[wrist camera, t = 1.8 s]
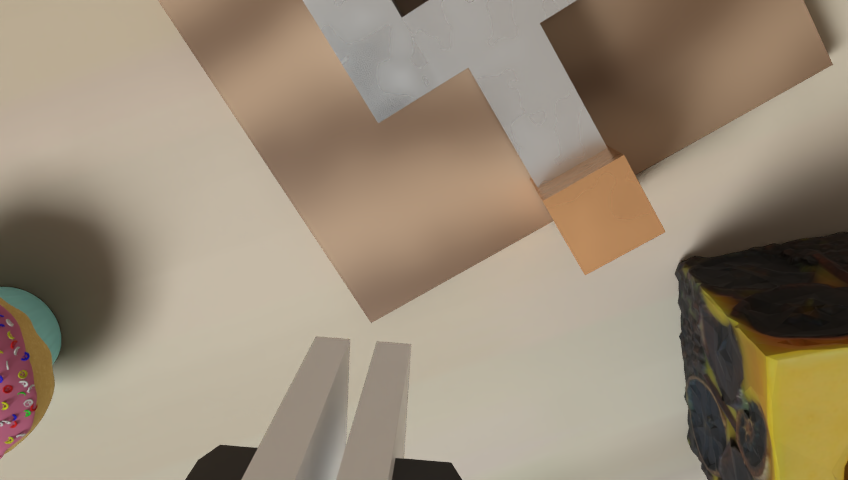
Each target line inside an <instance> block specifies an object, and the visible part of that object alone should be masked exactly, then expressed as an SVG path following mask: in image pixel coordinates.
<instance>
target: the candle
mask: <svg viewBox="0 0 848 480" xmlns="http://www.w3.org/2000/svg"><path fill="white" fill-rule="evenodd" d="M675 275H676V277H677V279H678V281H679V299H678V304H679V307H680V309H681V330H682V333H681V335H680V336H679V337H680V340H681V347H682V355H683V360H684V371H685V380H686V387H685V390H686V391H685V396H684V397H685V400H686V402H687V405H688V408H689V409H688V425H689V430H688V435H687V440H688V442H689V445H690V448H691V450H692V451H693V453H694V454H695V455H696V456H697V457H698V459H699V461H700V462H701V463H702V465H701V469H702V470H703V472H704V473H705V475H706V476H707V479H708V480H848V232H840V233H836V234H833V235H829V236H826V237H816V238H806V239H799V240H795V241H791V242H788V243H785V244H782V245H777V244H771V245H768V246H765V247H753V248H751V249H749V250H747V251H742V252H736V253H731V254H727V255H723V256H718V257H712V258H704V257H696V256H694V257H692V258H690V259H688V260H686V261H683V262H681V263H679V264H678V267H677V269H676V272H675Z"/></svg>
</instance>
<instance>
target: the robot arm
mask: <svg viewBox="0 0 848 480" xmlns="http://www.w3.org/2000/svg"><path fill="white" fill-rule="evenodd" d="M349 356H350V339H341V338H328V337H315V339H314V341H313V343H312V345H311V347H310V349H309V351H308V353H307V355H306V357H305V358H304V360H303V362H302V364H301V366H300V368H299V370H298V372H297V374H296V376H295V378H294V380H293V382H292V383H291V385H290V387H289V389H288V391H287V393H286V395H285V397H284V399H283V401H282V403H281V405H280V406H279V408H278V410H277V412H276V414H275V416H274V418H273V420H272V422H271V424H270V426H269V428H268V430H267V431H266V433H265V435H264V437H263V439H262V441H261V443H260V445H259V447H258V448H251V447H239V446H228V445H219V446H218V447H216V448H215V449H214V450H212V451H211V452H209V453H208V454H206V455H205V456H204V457H202V458H201V459H199V460H198V461H197V463H196V464H195V466H194V467H193V469H192V470H191V472H190V473H189V475H188V476H187V478H186V479H185V480H462V479H461V477H460V476H459V474H458V473H457V471H456V469H455V468H454V466H453V465H452V463H449V462H437V461H426V460H414V459H404V450H405V434H406V418H407V403H408V387H409V371H410V356H411V344H403V343H391V342H378V341H377V343H376V346H375V349H374V353H373V356H372V360H371V363H370V366H369V370H368V373H367V377H366V380H365V383H364V387H363V390H362V393H361V397H360V400H359V404H358V407H357V410H356V414H355V417H354V421H353V424H352V427H351V431H350V434H349V438H348V441H347V444H346V433H347V407H348V382H349Z"/></svg>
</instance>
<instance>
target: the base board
mask: <svg viewBox="0 0 848 480" xmlns="http://www.w3.org/2000/svg"><path fill="white" fill-rule="evenodd" d="M158 1H159V2H160V4H161V5H162V7H163V9H164V10H165V12H166V13H167V15H168V16H169V18H170V19H171V21H172V22H173V24H174V25H175V27H176V28H177V30H178V31H179V33H180V34H181V36H182V37H183V39H184V40H185V42H186V43H187V45H188V46H189V48H190V49H191V51H192V52H193V54H194V55H195V57H196V58H197V60H198V61H199V63H200V65H201V66H202V68H203V69H204V71H205V72H206V74H207V75H208V77H209V78H210V80H211V81H212V83H213V84H214V86H215V87H216V89H217V90H218V92H219V93H220V95H221V96H222V98H223V99H224V101H225V102H226V104H227V105H228V107H229V108H230V110H231V111H232V113H233V114H234V116H235V117H236V119H237V121H238V122H239V124H240V125H241V127H242V128H243V130H244V131H245V133H246V134H247V136H248V137H249V139H250V140H251V142H252V143H253V145H254V146H255V148H256V149H257V151H258V152H259V154H260V155H261V157H262V158H263V160H264V161H265V163H266V164H267V166H268V167H269V169H270V170H271V172H272V173H273V175H274V177H275V178H276V180H277V181H278V183H279V184H280V186H281V187H282V189H283V190H284V192H285V193H286V195H287V196H288V198H289V199H290V201H291V202H292V204H293V205H294V207H295V208H296V210H297V211H298V213H299V214H300V216H301V217H302V219H303V220H304V222H305V223H306V225H307V226H308V228H309V229H310V231H311V233H312V234H313V236H314V237H315V239H316V240H317V242H318V243H319V245H320V246H321V248H322V249H323V251H324V252H325V254H326V255H327V257H328V258H329V260H330V261H331V263H332V264H333V266H334V267H335V269H336V270H337V272H338V273H339V275H340V276H341V278H342V279H343V281H344V282H345V284H346V286H347V287H348V289H349V290H350V292H351V293H352V295H353V296H354V298H355V299H356V301H357V302H358V304H359V305H360V307H361V308H362V310H363V311H364V313H365V314H366V316H367V317H368V319H369V320H370V322H371V323H372V322H374V321H375V320H377V319H379V318H381V317H383V316H384V315H386V314H388V313H390V312H392V311H393V310H395V309H397V308H399V307H400V306H402V305H404V304H406V303H408V302H409V301H411V300H413V299H415V298H417V297H418V296H420V295H422V294H424V293H425V292H427V291H429V290H431V289H433V288H434V287H436V286H438V285H440V284H442V283H443V282H445V281H447V280H449V279H450V278H452V277H454V276H456V275H458V274H459V273H461V272H463V271H465V270H467V269H468V268H470V267H472V266H474V265H476V264H477V263H479V262H481V261H483V260H484V259H486V258H488V257H490V256H492V255H493V254H495V253H497V252H499V251H501V250H502V249H504V248H506V247H508V246H509V245H511V244H513V243H515V242H517V241H518V240H520V239H522V238H524V237H526V236H527V235H529V234H531V233H533V232H534V231H536V230H538V229H540V228H542V227H543V226H545V225H547V224H549V223H551V222H552V221H553V219H552V217H551V216H550V214H549V212H548V210H547V209H546V207H545V205H544V203H543V202H542V200H541V198H540V196H539V195H538V193H537V191H536V189H535V188H534V186H533V184H532V182H531V181H530V179H529V178H531V176H530V174H529V172H528V171H527V169H526V167H525V166H524V164H523V162H522V160H521V159H520V157H519V155H518V153H517V152H516V150H515V148H514V146H513V145H512V143H511V141H510V139H509V138H508V136H507V134H506V132H505V131H504V129H503V127H502V125H501V124H500V122H499V120H498V119H497V117H496V115H495V113H494V112H493V110H492V108H491V106H490V105H489V103H488V101H487V99H486V98H485V96H484V94H483V92H482V91H481V89H480V87H479V85H478V84H477V82H476V80H475V78H474V77H473V75H472V73H471V72H470V70H469V68H467V69H465V70H463V71H462V72H460V73H459V74H457V75H455V76H454V77H452V78H451V79H449V80H447V81H446V82H444V83H443V84H441V85H439V86H438V87H436V88H434V89H433V90H431V91H430V92H428V93H426V94H425V95H423V96H422V97H420V98H418V99H417V100H415V101H413V102H412V103H410V104H409V105H407V106H405V107H404V108H402V109H401V110H399V111H397V112H396V113H394V114H393V115H391V116H389V117H388V118H386V119H384V120H383V121H381V122H380V123H378V122H377V121H376V119H375V117H374V116H373V114H372V112H371V111H370V109H369V108H368V106H367V104H366V103H365V101H364V99H363V98H362V96H361V95H360V93H359V91H358V90H357V88H356V86H355V85H354V83H353V82H352V80H351V78H350V77H349V75H348V73H347V72H346V70H345V69H344V67H343V65H342V64H341V62H340V60H339V59H338V57H337V56H336V54H335V52H334V51H333V49H332V47H331V46H330V44H329V43H328V41H327V39H326V38H325V36H324V34H323V33H322V31H321V30H320V28H319V26H318V25H317V23H316V21H315V20H314V18H313V17H312V15H311V13H310V12H309V10H308V8H307V7H306V5H305V3H304V2H303V0H158ZM427 1H428V0H395V2H396V4H397V5H398V7H399V9H400V11H401V12H402V14H403V16H405V15H407V14H408V13H410V12H411V11H413V10H414V9H416V8H417V7H419V6H421V5H422V4H424V3H425V2H427ZM540 25H541V27H542V29H543V30H544V32H545V34H546V36H547V38H548V40H549V41H550V43H551V45H552V47H553V49H554V51H555V52H556V54H557V56H558V58H559V60H560V62H561V63H562V65H563V67H564V69H565V71H566V73H567V75H568V76H569V78H570V80H571V82H572V84H573V86H574V87H575V89H576V91H577V93H578V95H579V97H580V98H581V100H582V102H583V104H584V106H585V108H586V109H587V111H588V113H589V115H590V117H591V119H592V121H593V122H594V124H595V126H596V128H597V130H598V132H599V133H600V135H601V137H602V139H603V141H604V143H605V144H606V145H608V146H610V147H611V148H613V149H615V150H616V151H618V152H620V153H622V154H623V155H624V156H625V158H626V159H627V161H628V163H629V165H630V167H631V169H632V171H633V172H634V174H635V175H636V174H638V173H640V172H642V171H643V170H645V169H647V168H649V167H651V166H652V165H654V164H656V163H658V162H660V161H661V160H663V159H665V158H667V157H668V156H670V155H672V154H674V153H676V152H677V151H679V150H681V149H683V148H685V147H686V146H688V145H690V144H692V143H693V142H695V141H697V140H699V139H701V138H702V137H704V136H706V135H708V134H710V133H711V132H713V131H715V130H717V129H718V128H720V127H722V126H724V125H726V124H727V123H729V122H731V121H733V120H735V119H736V118H738V117H740V116H742V115H743V114H745V113H747V112H749V111H751V110H752V109H754V108H756V107H758V106H760V105H761V104H763V103H765V102H767V101H769V100H770V99H772V98H774V97H776V96H777V95H779V94H781V93H783V92H785V91H786V90H788V89H790V88H792V87H794V86H795V85H797V84H799V83H801V82H802V81H804V80H806V79H808V78H810V77H811V76H813V75H815V74H817V73H819V72H820V71H822V70H824V69H826V68H827V67H829V66H831V65H833V64H832V62H831V59H830V57H829V55H828V53H827V51H826V48H825V46H824V44H823V42H822V40H821V37H820V35H819V33H818V31H817V29H816V27H815V24H814V22H813V20H812V18H811V16H810V13H809V11H808V9H807V7H806V5H805V2H804V0H576V1H575V2H573V3H572V4H570V5H568V6H567V7H565V8H563V9H562V10H560V11H559V12H557V13H555V14H554V15H552V16H551V17H549V18H547V19H546V20H544V21H543V22H541V23H540Z"/></svg>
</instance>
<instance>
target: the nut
mask: <svg viewBox="0 0 848 480" xmlns="http://www.w3.org/2000/svg"><path fill="white" fill-rule="evenodd" d="M575 1H576V0H428V1H427V2H425V3H424V4H422V5H421V6H419V7H417V8H416V9H414V10H413V11H411V12H410V13H408V14H407V15H405V16H403V14H402V12H401V11H400V9H399V7H398V5H397V4H396V2H395V0H303V2H304V3H305V5H306V7H307V8H308V10H309V12H310V13H311V15H312V17H313V18H314V20H315V21H316V23H317V25H318V26H319V28H320V30H321V31H322V33H323V34H324V36H325V38H326V39H327V41H328V43H329V44H330V46H331V47H332V49H333V51H334V52H335V54H336V56H337V57H338V59H339V60H340V62H341V64H342V65H343V67H344V69H345V70H346V72H347V73H348V75H349V77H350V78H351V80H352V82H353V83H354V85H355V86H356V88H357V90H358V91H359V93H360V95H361V96H362V98H363V99H364V101H365V103H366V104H367V106H368V108H369V109H370V111H371V112H372V114H373V116H374V117H375V119H376V121H377V122H378V123H380V122H381V121H383V120H384V119H386V118H388V117H389V116H391V115H393V114H394V113H396V112H397V111H399V110H401V109H402V108H404V107H405V106H407V105H409V104H410V103H412V102H413V101H415V100H417V99H418V98H420V97H422V96H423V95H425V94H426V93H428V92H430V91H431V90H433V89H434V88H436V87H438V86H439V85H441V84H443V83H444V82H446V81H447V80H449V79H451V78H452V77H454V76H455V75H457V74H459V73H460V72H462V71H463V70H465V69H467V68H469V70H470V72H471V73H472V75H473V77H474V78H475V80H476V82H477V84H478V85H479V87H480V89H481V91H482V92H483V94H484V96H485V98H486V99H487V101H488V103H489V105H490V106H491V108H492V110H493V112H494V113H495V115H496V117H497V119H498V120H499V122H500V124H501V125H502V127H503V129H504V131H505V132H506V134H507V136H508V138H509V139H510V141H511V143H512V145H513V146H514V148H515V150H516V152H517V153H518V155H519V157H520V159H521V160H522V162H523V164H524V166H525V167H526V169H527V171H528V172H529V174H530V176H531V178H529V179H530V181H531V182H532V184H533V186H534V188H535V189H536V191H537V193H538V195H539V196H540V198H541V200H542V202H543V203H544V205H545V207H546V209H547V210H548V212H549V214H550V216H551V217H552V219H553V221H554V222H555V224H556V226H557V228H558V229H559V231H560V233H561V235H562V236H563V238H564V240H565V242H566V243H567V245H568V247H569V248H570V250H571V252H572V254H573V255H574V257H575V259H576V260H577V262H578V264H579V266H580V267H581V269H582V271H583V272H584V274H585V275H586V274H588V273H590V272H592V271H594V270H596V269H598V268H599V267H601V266H603V265H605V264H607V263H609V262H611V261H612V260H614V259H616V258H618V257H620V256H622V255H624V254H625V253H627V252H629V251H631V250H633V249H635V248H637V247H638V246H640V245H642V244H644V243H646V242H648V241H650V240H651V239H653V238H655V237H657V236H659V235H661V234H663V233H664V232H665V230H664V228H663V226H662V224H661V222H660V221H659V219H658V217H657V215H656V213H655V211H654V209H653V208H652V206H651V204H650V202H649V200H648V198H647V197H646V195H645V193H644V191H643V189H642V187H641V185H640V184H639V182H638V180H637V178H636V176H635V174H634V172H633V171H632V169H631V167H630V165H629V163H628V161H627V159H626V158H625V156H624V155H623V154H622V153H620V152H618V151H616V150H615V149H613V148H611V147H610V146H608V145H606V144H605V143H604V141H603V139H602V137H601V135H600V133H599V132H598V130H597V128H596V126H595V124H594V122H593V121H592V119H591V117H590V115H589V113H588V111H587V109H586V108H585V106H584V104H583V102H582V100H581V98H580V97H579V95H578V93H577V91H576V89H575V87H574V86H573V84H572V82H571V80H570V78H569V76H568V75H567V73H566V71H565V69H564V67H563V65H562V63H561V62H560V60H559V58H558V56H557V54H556V52H555V51H554V49H553V47H552V45H551V43H550V41H549V40H548V38H547V36H546V34H545V32H544V30H543V29H542V27H541V25H540V23H541V22H543V21H544V20H546V19H547V18H549V17H551V16H552V15H554V14H555V13H557V12H559V11H560V10H562V9H563V8H565V7H567V6H568V5H570V4H572V3H573V2H575Z"/></svg>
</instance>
